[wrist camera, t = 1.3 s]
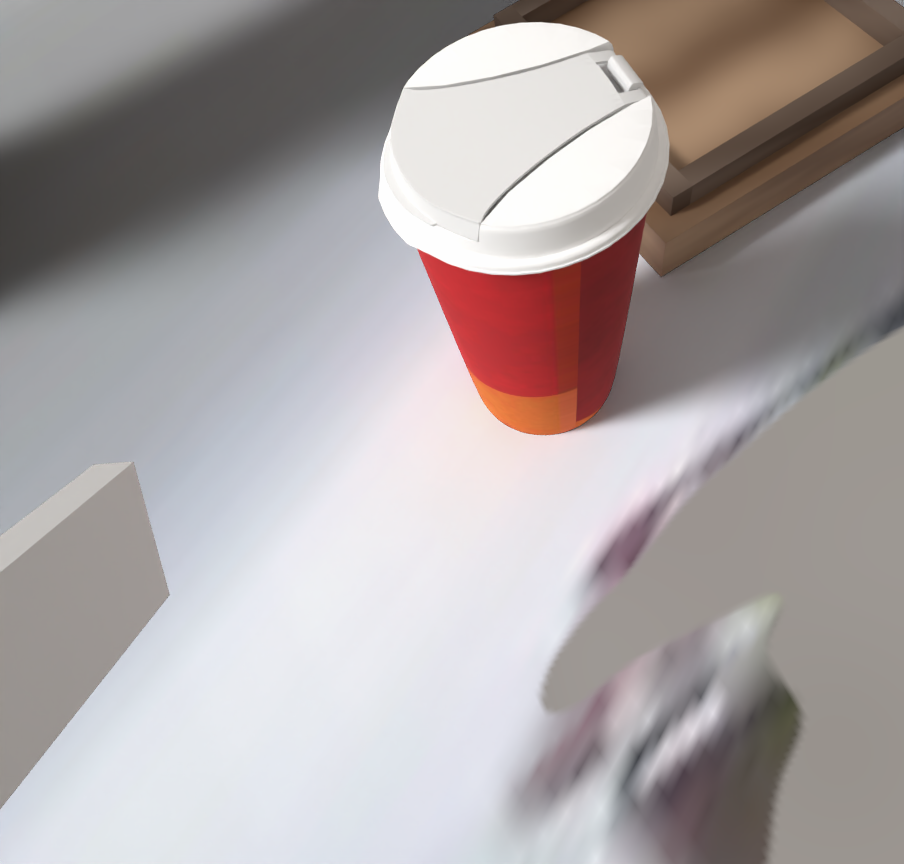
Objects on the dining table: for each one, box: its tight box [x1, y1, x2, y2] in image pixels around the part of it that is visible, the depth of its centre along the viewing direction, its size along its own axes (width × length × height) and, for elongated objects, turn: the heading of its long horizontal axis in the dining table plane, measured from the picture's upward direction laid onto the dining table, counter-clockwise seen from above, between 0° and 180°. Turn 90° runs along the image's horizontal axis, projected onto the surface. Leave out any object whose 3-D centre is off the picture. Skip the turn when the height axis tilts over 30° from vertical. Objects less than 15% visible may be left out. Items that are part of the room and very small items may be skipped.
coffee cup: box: [378, 22, 670, 435], centre depth 29 cm, size 8×8×15 cm
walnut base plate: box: [469, 0, 904, 277], centre depth 39 cm, size 16×16×4 cm
